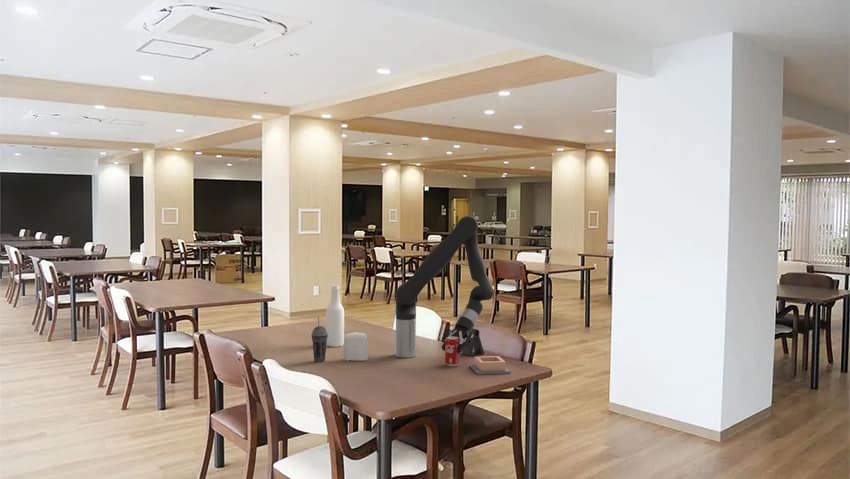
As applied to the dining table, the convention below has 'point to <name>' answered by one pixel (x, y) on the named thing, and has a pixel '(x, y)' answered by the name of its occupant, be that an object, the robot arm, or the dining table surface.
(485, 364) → the holder
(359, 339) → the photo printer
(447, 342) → the beverage can
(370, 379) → the dining table surface
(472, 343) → the phone stand
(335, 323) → the alcohol
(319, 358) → the beverage cup
